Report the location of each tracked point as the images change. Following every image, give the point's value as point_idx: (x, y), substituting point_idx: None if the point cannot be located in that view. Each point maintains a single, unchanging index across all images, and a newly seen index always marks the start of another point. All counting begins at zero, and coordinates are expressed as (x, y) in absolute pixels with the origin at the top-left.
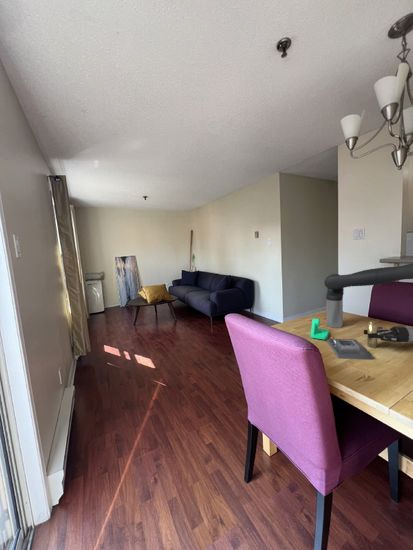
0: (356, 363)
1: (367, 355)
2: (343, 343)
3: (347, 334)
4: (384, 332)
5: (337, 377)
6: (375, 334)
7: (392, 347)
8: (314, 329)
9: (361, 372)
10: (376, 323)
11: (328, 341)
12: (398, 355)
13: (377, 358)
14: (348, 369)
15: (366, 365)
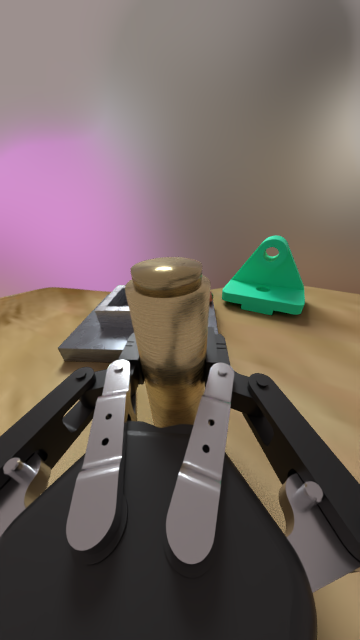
0: (70, 322)
1: (69, 338)
2: None
3: (336, 371)
4: (101, 408)
5: (48, 291)
6: (131, 356)
7: None
8: (245, 267)
9: (31, 318)
10: (163, 300)
11: None
12: None
13: (59, 379)
14: (58, 306)
15: (47, 335)
